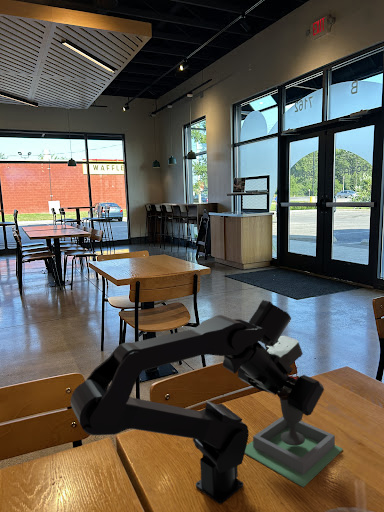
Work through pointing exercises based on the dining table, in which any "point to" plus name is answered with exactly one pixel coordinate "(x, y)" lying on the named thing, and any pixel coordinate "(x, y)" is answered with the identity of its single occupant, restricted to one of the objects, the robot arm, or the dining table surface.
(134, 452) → the dining table surface
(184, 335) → the robot arm
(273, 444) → the rimmed mat
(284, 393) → the sundae
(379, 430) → the dining table surface
